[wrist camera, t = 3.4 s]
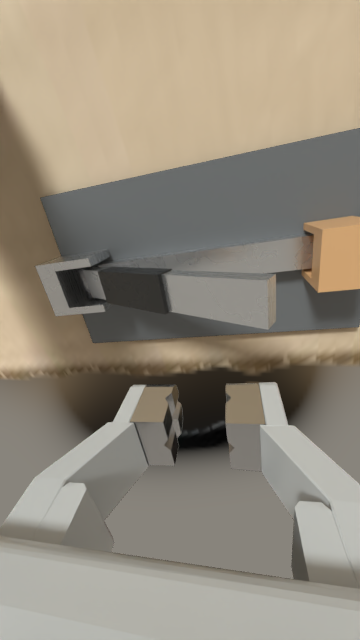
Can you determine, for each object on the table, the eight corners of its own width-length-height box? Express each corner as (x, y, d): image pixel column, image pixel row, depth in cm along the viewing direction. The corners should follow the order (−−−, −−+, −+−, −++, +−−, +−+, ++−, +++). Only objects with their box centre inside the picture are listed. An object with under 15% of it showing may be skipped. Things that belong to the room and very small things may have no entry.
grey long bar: (77, 300, 31) (55, 316, 27) (61, 256, 29) (35, 265, 25) (344, 273, 24) (367, 287, 20) (351, 212, 22) (379, 215, 18)
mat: (96, 339, 35) (93, 343, 34) (46, 197, 27) (40, 197, 26) (354, 322, 27) (359, 326, 27) (384, 124, 20) (391, 120, 19)
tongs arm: (96, 292, 29) (82, 298, 27) (87, 265, 27) (72, 270, 26) (277, 321, 15) (265, 334, 14) (277, 271, 14) (264, 281, 13)
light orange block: (301, 275, 25) (318, 292, 21) (303, 222, 23) (322, 229, 18) (345, 270, 24) (373, 287, 20) (352, 215, 22) (384, 220, 18)
